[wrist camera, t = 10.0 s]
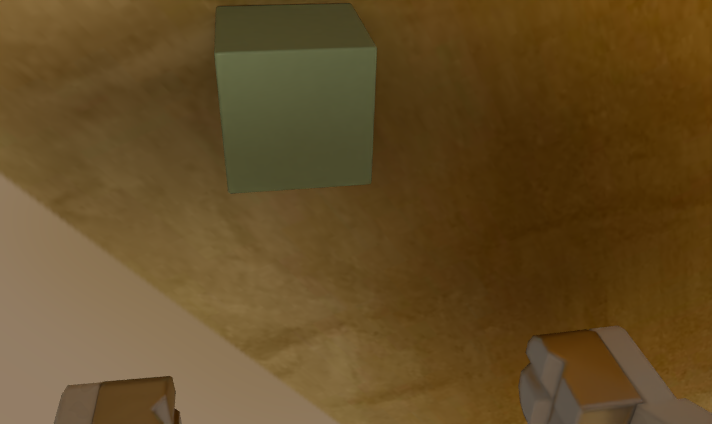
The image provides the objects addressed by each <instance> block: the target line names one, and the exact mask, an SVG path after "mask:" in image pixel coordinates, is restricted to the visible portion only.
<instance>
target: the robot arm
mask: <svg viewBox="0 0 712 424" xmlns="http://www.w3.org/2000/svg"><path fill="white" fill-rule="evenodd" d="M526 354H527V356H528V358H529V360H530V363H529V364H528V365H527V366H526V367H525V368H524V369H523V370H522V371H521V376H520V381H519V396H520V403H521V407H522V410H523V413H524V416H525V418H526V420H527V423H528V424H712V413H710V412H708V411H707V410H705V409H703V408H701V407H700V406H698V405H696V404H694V403H693V402H691V401H689V400H687V399H686V398H685V399H677V398H676V397H675V396H674V394H673V393H672V392H671V390H670V389H669V388H668V386H667V385H666V384H665V382H664V381H663V380H662V378H661V377H660V376H659V374H658V373H657V372H656V370H655V369H654V368H653V366H652V365H651V364H650V362H649V361H648V360H647V358H646V357H645V356H644V354H643V353H642V352H641V350H640V349H639V348H638V346H637V345H636V344H635V342H634V341H633V340H632V338H631V337H630V336H629V334H628V333H627V332H626V330H625V329H623V328H621V327H620V326H610V327H601V328H593V329H589V330H587V329H583V330H575V331H567V332H558V333H550V334H542V335H533V336H532V338H531V339H530V340H529V341H528V345H527V349H526ZM175 394H176V391H175V387H174V383H173V378H172V377H171V376H164V377H153V378H142V379H141V378H140V379H129V380H117V381H105V382H100V383H89V384H78V385H68V386H67V387H66V389H65V390H64V392H63V394H62V395H61V399H60V403H59V407H58V410H57V414H56V417H55V421H54V424H181V417H180V412H179V411H178V410H176V409H175V408H174V407H175Z"/></svg>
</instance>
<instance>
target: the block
mask: <svg viewBox="0 0 712 424" xmlns="http://www.w3.org/2000/svg"><path fill="white" fill-rule="evenodd" d="M214 57H215V67H216V77H217V87H218V97H219V107H220V117H221V127H222V136H223V146H224V156H225V166H226V176H227V186H228V192H229V193H231V194H232V193H247V192H262V191H277V190H291V189H306V188H321V187H336V186H350V185H365V184H371V181H372V158H373V134H374V110H375V86H376V62H377V47H376V45H375V44H374V42H373V40H372V39H371V37H370V35H369V34H368V32H367V30H366V28H365V27H364V25H363V23H362V22H361V20H360V18H359V16H358V15H357V13H356V11H355V10H354V8H353V6H352V4H350V3H348V4H305V5H263V6H221V7H217V8H216V22H215V48H214Z"/></svg>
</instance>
